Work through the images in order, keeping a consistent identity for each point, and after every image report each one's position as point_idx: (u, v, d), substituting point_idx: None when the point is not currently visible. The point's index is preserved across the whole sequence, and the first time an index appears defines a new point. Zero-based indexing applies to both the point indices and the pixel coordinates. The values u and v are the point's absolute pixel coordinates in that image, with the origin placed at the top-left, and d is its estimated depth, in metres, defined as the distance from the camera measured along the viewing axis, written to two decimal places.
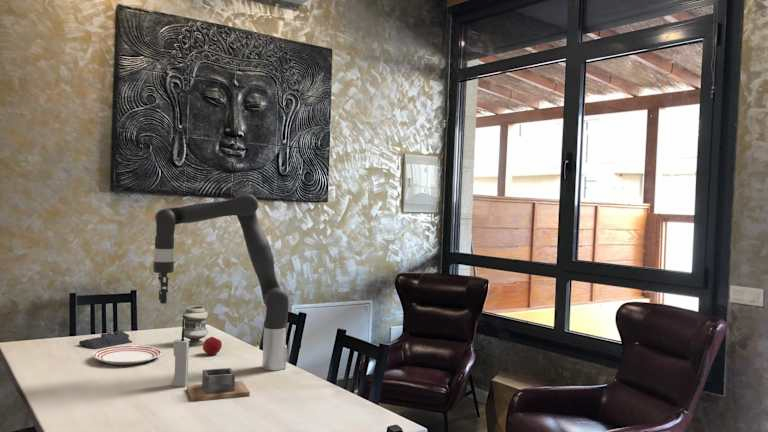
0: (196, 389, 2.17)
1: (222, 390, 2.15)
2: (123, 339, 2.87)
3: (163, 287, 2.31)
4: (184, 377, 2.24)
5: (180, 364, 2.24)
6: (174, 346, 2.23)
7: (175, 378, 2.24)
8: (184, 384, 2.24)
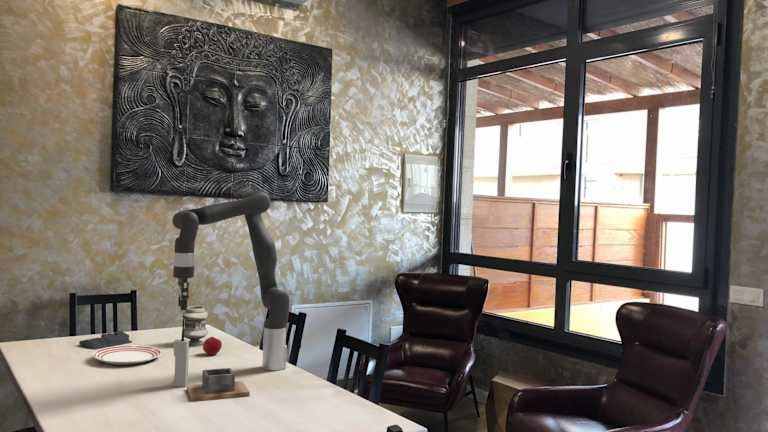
0: (196, 389, 2.17)
1: (222, 390, 2.15)
2: (123, 340, 2.86)
3: (183, 293, 2.21)
4: (184, 377, 2.24)
5: (180, 364, 2.24)
6: (174, 346, 2.23)
7: (175, 378, 2.24)
8: (184, 384, 2.24)
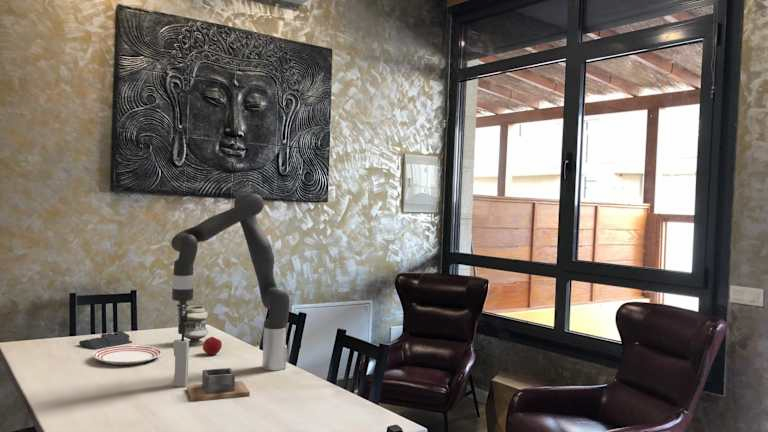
0: (196, 389, 2.17)
1: (222, 390, 2.15)
2: (123, 340, 2.86)
3: None
4: (184, 377, 2.24)
5: (180, 364, 2.24)
6: (174, 346, 2.23)
7: (175, 378, 2.24)
8: (184, 384, 2.24)
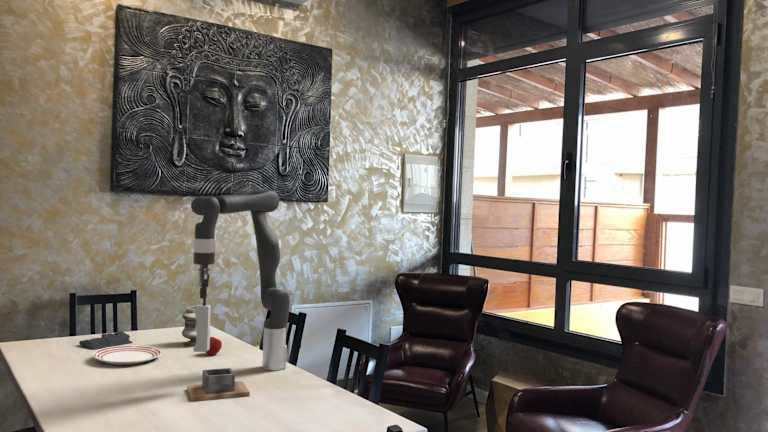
0: (196, 389, 2.17)
1: (222, 390, 2.15)
2: (123, 340, 2.85)
3: None
4: (206, 342, 2.20)
5: (202, 329, 2.20)
6: (196, 310, 2.20)
7: (197, 343, 2.20)
8: (206, 349, 2.20)
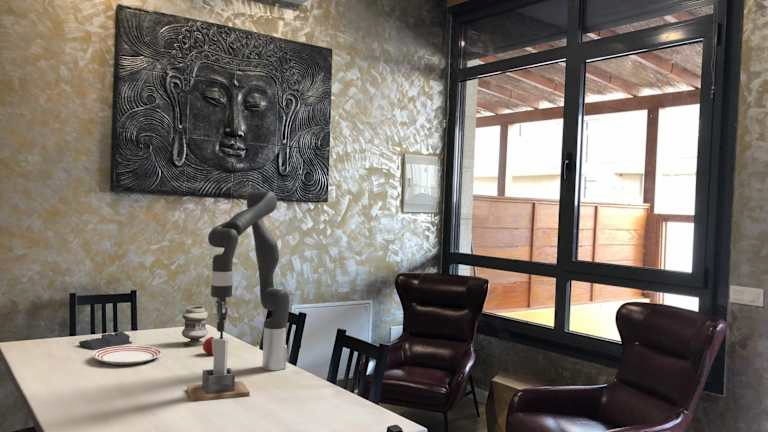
0: (196, 389, 2.17)
1: (222, 390, 2.15)
2: (123, 340, 2.85)
3: None
4: None
5: (219, 362, 2.17)
6: (213, 344, 2.17)
7: None
8: None
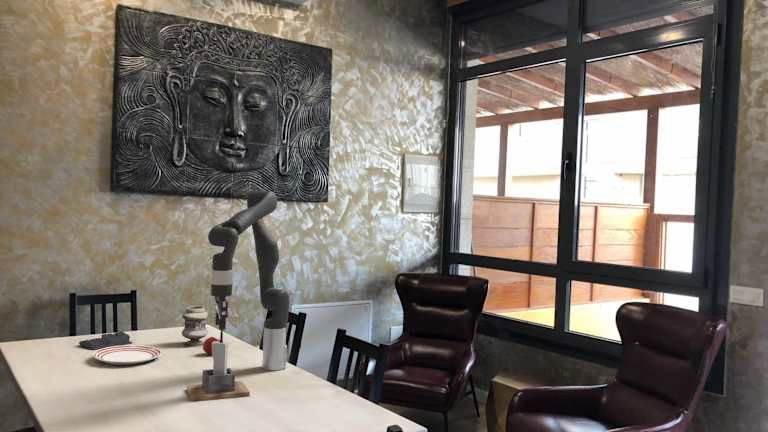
0: (196, 389, 2.17)
1: (222, 390, 2.15)
2: (123, 341, 2.85)
3: (222, 312, 2.14)
4: None
5: (218, 366, 2.17)
6: (212, 348, 2.17)
7: None
8: None
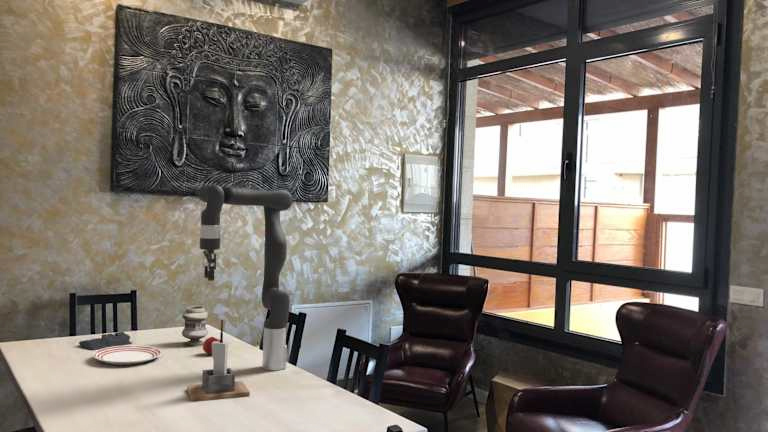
0: (196, 389, 2.17)
1: (222, 390, 2.15)
2: (123, 341, 2.84)
3: (210, 264, 2.27)
4: None
5: (218, 366, 2.17)
6: (212, 348, 2.17)
7: None
8: None
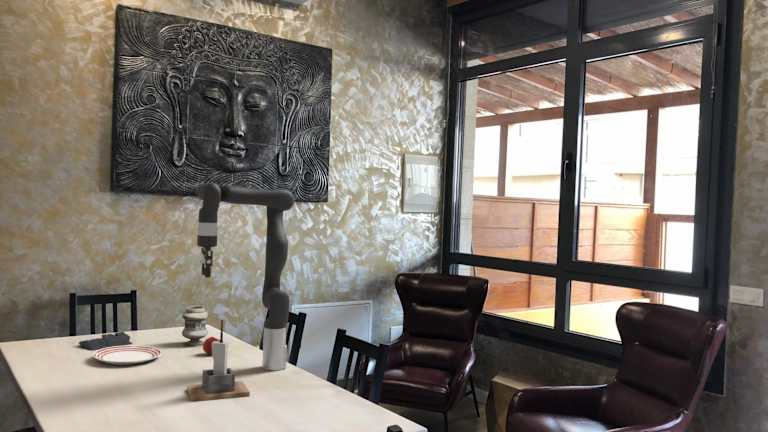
0: (196, 389, 2.17)
1: (222, 390, 2.15)
2: (123, 341, 2.84)
3: (207, 261, 2.30)
4: None
5: (218, 366, 2.17)
6: (212, 348, 2.17)
7: None
8: None
